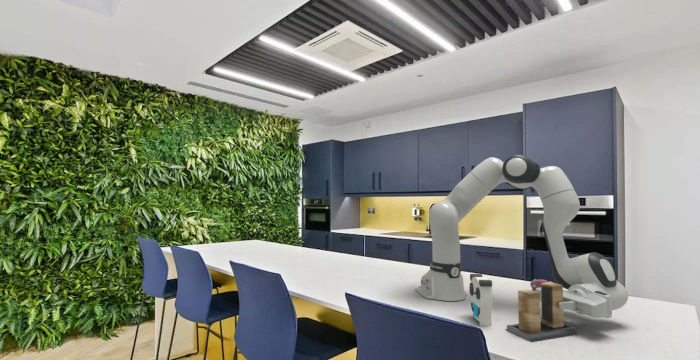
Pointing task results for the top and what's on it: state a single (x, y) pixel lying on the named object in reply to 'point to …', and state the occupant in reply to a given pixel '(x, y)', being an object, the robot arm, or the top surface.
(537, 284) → the video game controller
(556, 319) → the oak finger
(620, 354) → the top surface
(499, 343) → the top surface
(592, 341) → the top surface
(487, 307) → the panda figurine
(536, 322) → the block
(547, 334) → the dark grey tray
